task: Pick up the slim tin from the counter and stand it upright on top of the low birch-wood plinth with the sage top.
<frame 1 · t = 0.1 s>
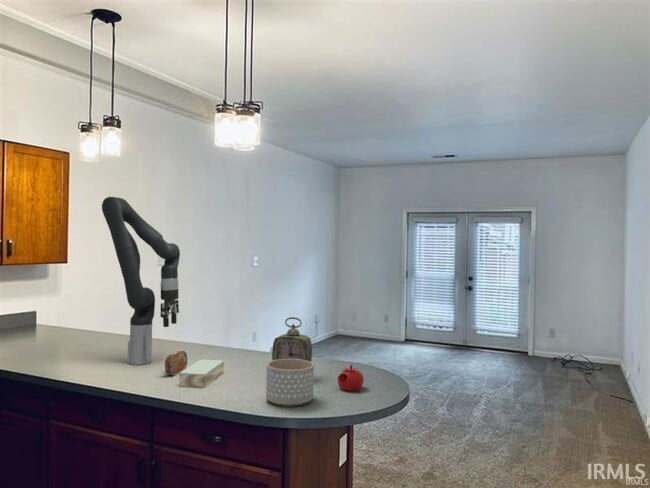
hand: (170, 325, 224), 17 cm above the worktop, tool pointing down, fingers open, 8 cm apart
tin: (175, 373, 210), on the worktop
pomegranate: (350, 389, 192), on the worktop
planter: (289, 401, 177), on the worktop
tabletop clock: (292, 379, 204), on the worktop
plinth: (202, 379, 201), on the worktop
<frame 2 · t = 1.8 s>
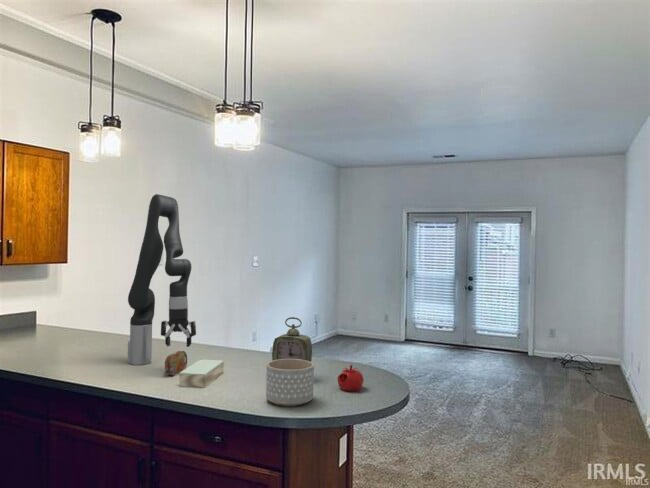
hand: (178, 346, 210), 11 cm above the worktop, tool pointing down, fingers open, 8 cm apart
nothing on the worktop moved.
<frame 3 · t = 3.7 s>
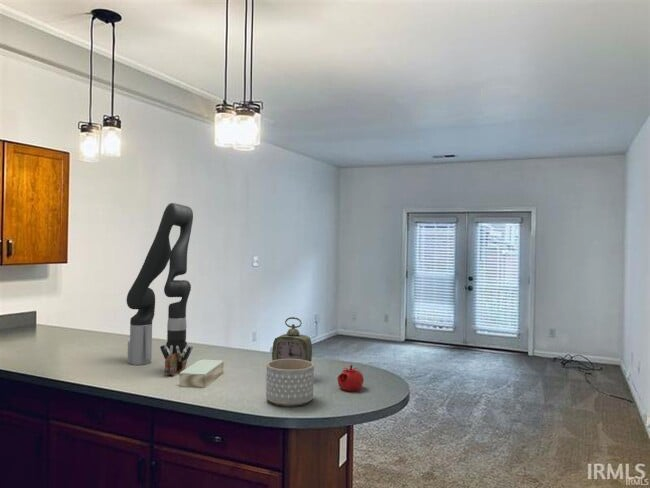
hand: (176, 369, 210), 1 cm above the worktop, tool pointing down, fingers closed on tin, 2 cm apart
tin: (175, 373, 210), on the worktop, touching gripper
everything else where it was.
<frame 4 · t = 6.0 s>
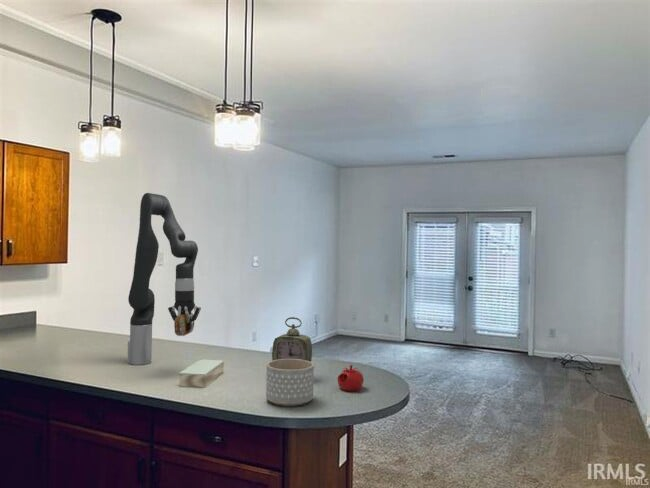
hand: (184, 331, 208), 18 cm above the worktop, tool pointing down, fingers closed on tin, 2 cm apart
tin: (183, 334, 208), point 16 cm above the worktop, touching gripper
everything else where it was.
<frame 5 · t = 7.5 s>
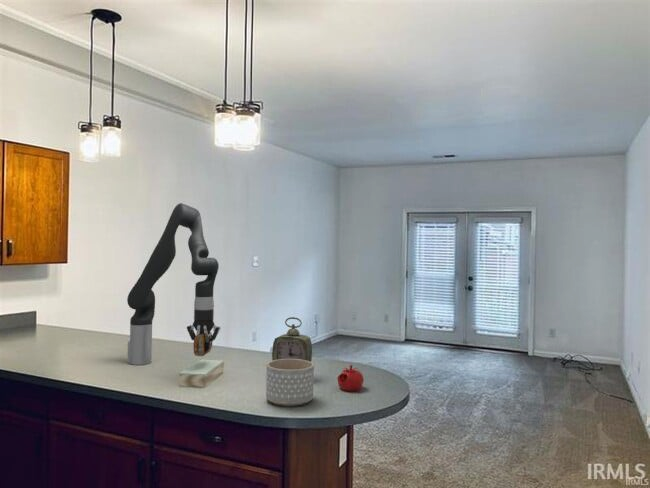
hand: (203, 351, 201), 11 cm above the worktop, tool pointing down, fingers closed on tin, 2 cm apart
tin: (202, 354, 201), point 10 cm above the worktop, touching gripper
everything else where it was.
when the fingers open (8 cm above the worktop, at t = 8.5 s): tin drops 1 cm, resting on plinth.
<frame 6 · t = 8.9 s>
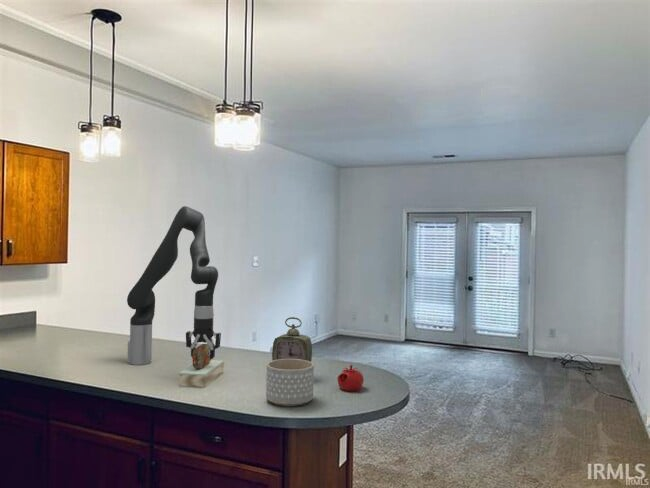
hand: (202, 358, 201), 8 cm above the worktop, tool pointing down, fingers open, 6 cm apart
tin: (201, 366, 201), point 5 cm above the worktop, touching plinth
everything else where it was.
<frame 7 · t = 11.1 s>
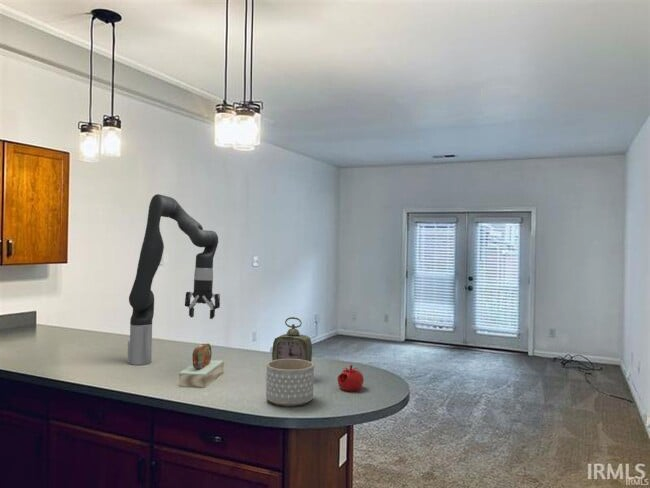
hand: (201, 317, 209), 23 cm above the worktop, tool pointing down, fingers open, 8 cm apart
nothing on the worktop moved.
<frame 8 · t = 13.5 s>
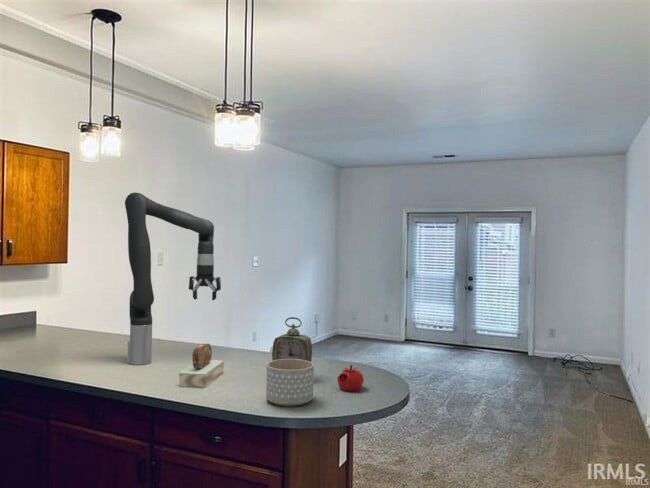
hand: (204, 299, 230), 28 cm above the worktop, tool pointing down, fingers open, 8 cm apart
nothing on the worktop moved.
at the end: tin inside the target area on the plinth (0.4 cm from its centre), point 4.8 cm above the plinth's base; tin tilted 0°; the gripper is holding nothing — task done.
